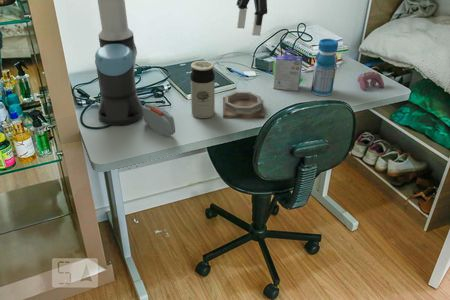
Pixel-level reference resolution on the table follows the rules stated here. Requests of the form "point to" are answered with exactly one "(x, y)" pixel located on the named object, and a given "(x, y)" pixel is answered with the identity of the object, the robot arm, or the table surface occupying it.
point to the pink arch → (374, 78)
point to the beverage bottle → (325, 68)
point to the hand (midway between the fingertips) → (247, 31)
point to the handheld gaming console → (158, 120)
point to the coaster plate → (242, 105)
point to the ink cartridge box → (287, 71)
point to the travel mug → (202, 89)
